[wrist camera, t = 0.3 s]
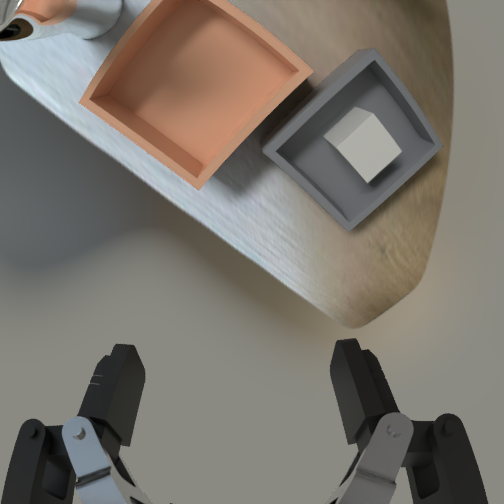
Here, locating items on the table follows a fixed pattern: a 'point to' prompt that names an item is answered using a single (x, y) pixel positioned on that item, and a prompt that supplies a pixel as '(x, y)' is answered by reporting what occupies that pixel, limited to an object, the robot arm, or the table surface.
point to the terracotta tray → (192, 83)
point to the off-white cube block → (363, 142)
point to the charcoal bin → (324, 154)
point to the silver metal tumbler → (56, 18)
